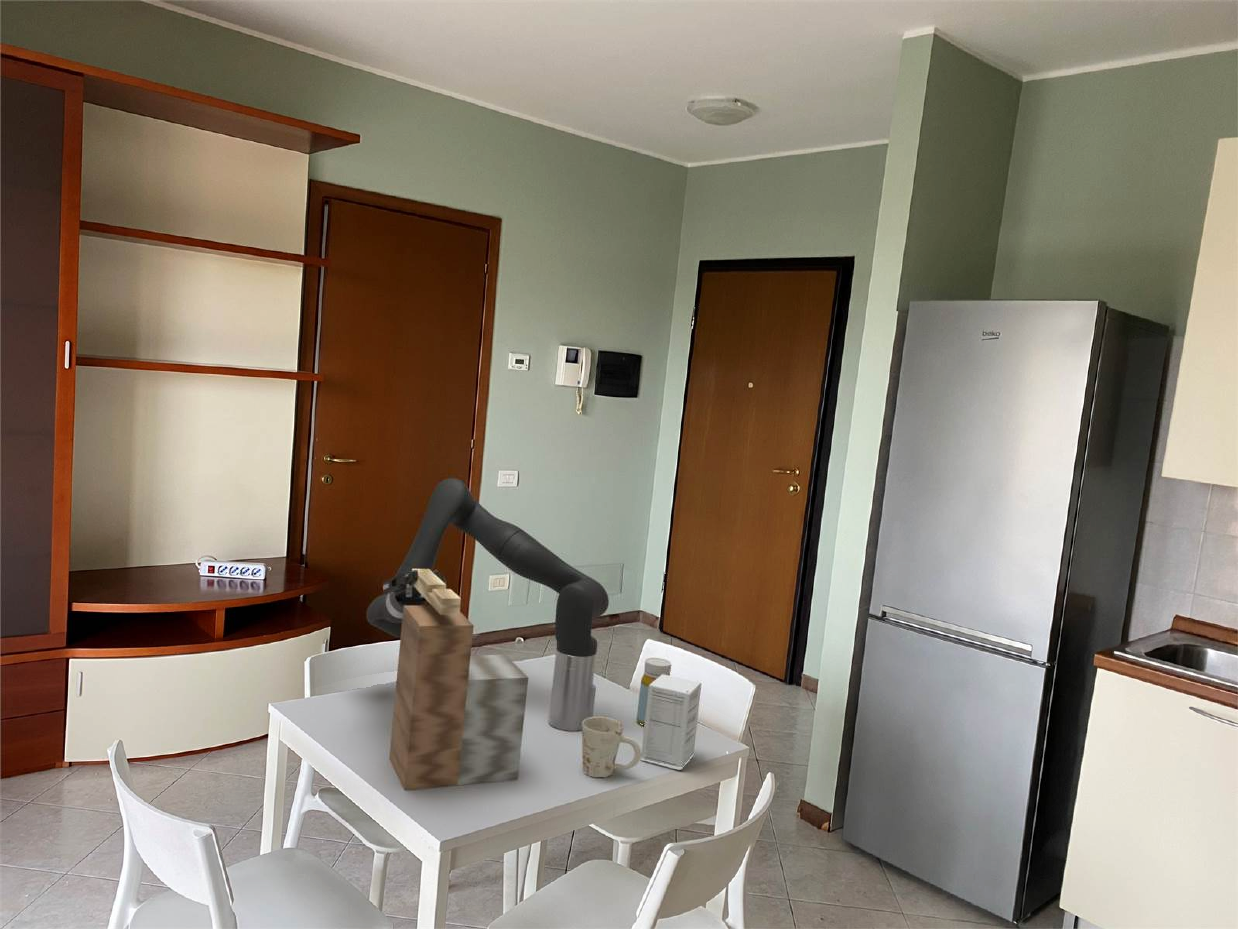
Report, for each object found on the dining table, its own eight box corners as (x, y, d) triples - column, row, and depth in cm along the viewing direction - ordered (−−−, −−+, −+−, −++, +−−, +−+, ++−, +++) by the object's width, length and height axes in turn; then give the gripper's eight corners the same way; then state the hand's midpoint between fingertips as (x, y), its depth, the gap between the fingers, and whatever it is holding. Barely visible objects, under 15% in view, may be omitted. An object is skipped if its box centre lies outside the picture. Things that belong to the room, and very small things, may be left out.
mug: (581, 760, 189) (586, 714, 188) (640, 770, 187) (646, 723, 186) (573, 776, 180) (579, 728, 179) (635, 787, 179) (641, 738, 178)
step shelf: (495, 750, 189) (510, 605, 186) (517, 779, 176) (534, 624, 173) (389, 758, 179) (403, 605, 176) (404, 790, 167) (420, 626, 164)
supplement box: (694, 757, 197) (703, 682, 195) (681, 772, 188) (691, 694, 187) (653, 746, 200) (662, 672, 199) (638, 761, 192) (648, 684, 190)
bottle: (663, 731, 210) (670, 668, 208) (633, 725, 211) (641, 663, 210) (667, 721, 217) (675, 660, 215) (639, 715, 218) (646, 655, 217)
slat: (427, 583, 187) (429, 568, 187) (459, 614, 166) (460, 598, 165) (410, 583, 186) (412, 568, 185) (440, 614, 164) (442, 598, 164)
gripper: (373, 580, 194) (390, 556, 180) (437, 580, 200) (459, 557, 186) (373, 615, 191) (391, 593, 177) (439, 614, 197) (461, 592, 183)
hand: (426, 574), depth 182 cm, fingers closed on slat, 3 cm apart
